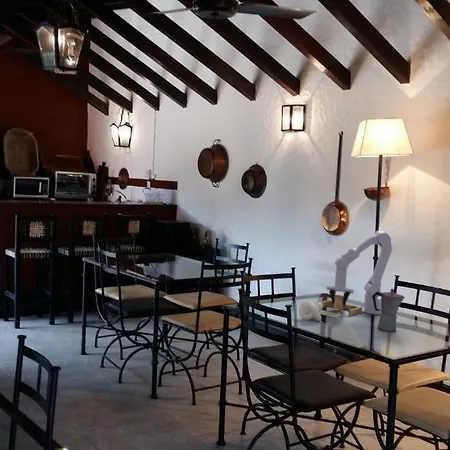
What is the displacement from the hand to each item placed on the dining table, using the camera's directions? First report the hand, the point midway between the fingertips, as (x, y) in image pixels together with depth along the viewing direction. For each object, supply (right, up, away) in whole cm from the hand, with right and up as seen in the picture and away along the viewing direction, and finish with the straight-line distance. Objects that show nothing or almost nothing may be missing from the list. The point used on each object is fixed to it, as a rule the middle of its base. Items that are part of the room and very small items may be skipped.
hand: (338, 304), depth 334 cm
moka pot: (+16, -8, -34) cm, 39 cm away
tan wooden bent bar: (0, -3, 0) cm, 3 cm away
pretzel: (-18, -5, -24) cm, 30 cm away
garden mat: (-8, -4, -9) cm, 12 cm away
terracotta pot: (0, -2, 0) cm, 2 cm away
